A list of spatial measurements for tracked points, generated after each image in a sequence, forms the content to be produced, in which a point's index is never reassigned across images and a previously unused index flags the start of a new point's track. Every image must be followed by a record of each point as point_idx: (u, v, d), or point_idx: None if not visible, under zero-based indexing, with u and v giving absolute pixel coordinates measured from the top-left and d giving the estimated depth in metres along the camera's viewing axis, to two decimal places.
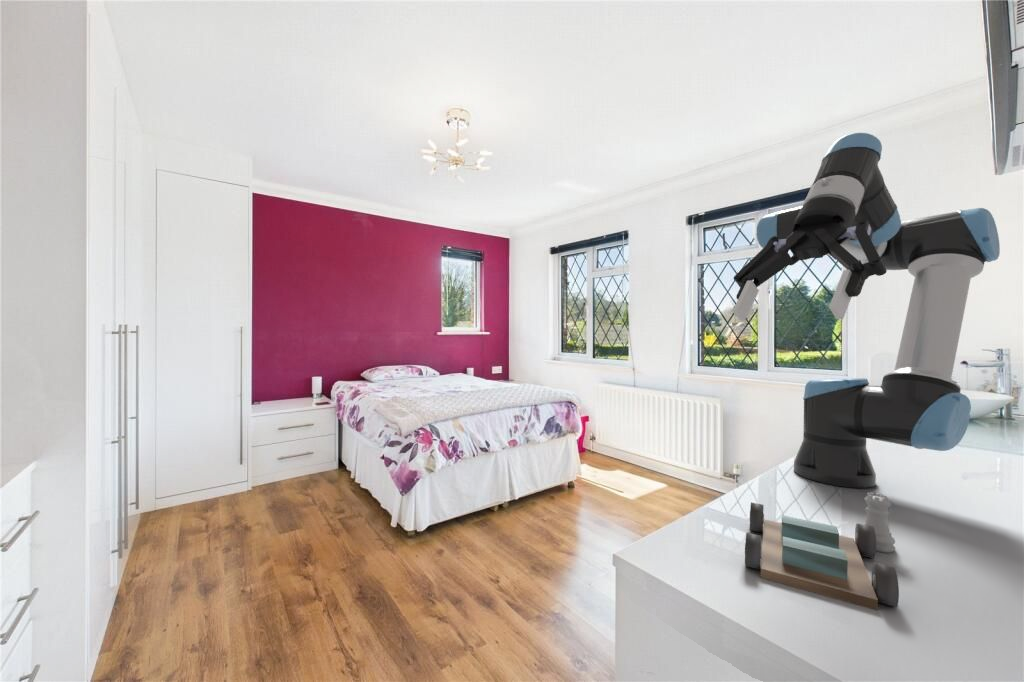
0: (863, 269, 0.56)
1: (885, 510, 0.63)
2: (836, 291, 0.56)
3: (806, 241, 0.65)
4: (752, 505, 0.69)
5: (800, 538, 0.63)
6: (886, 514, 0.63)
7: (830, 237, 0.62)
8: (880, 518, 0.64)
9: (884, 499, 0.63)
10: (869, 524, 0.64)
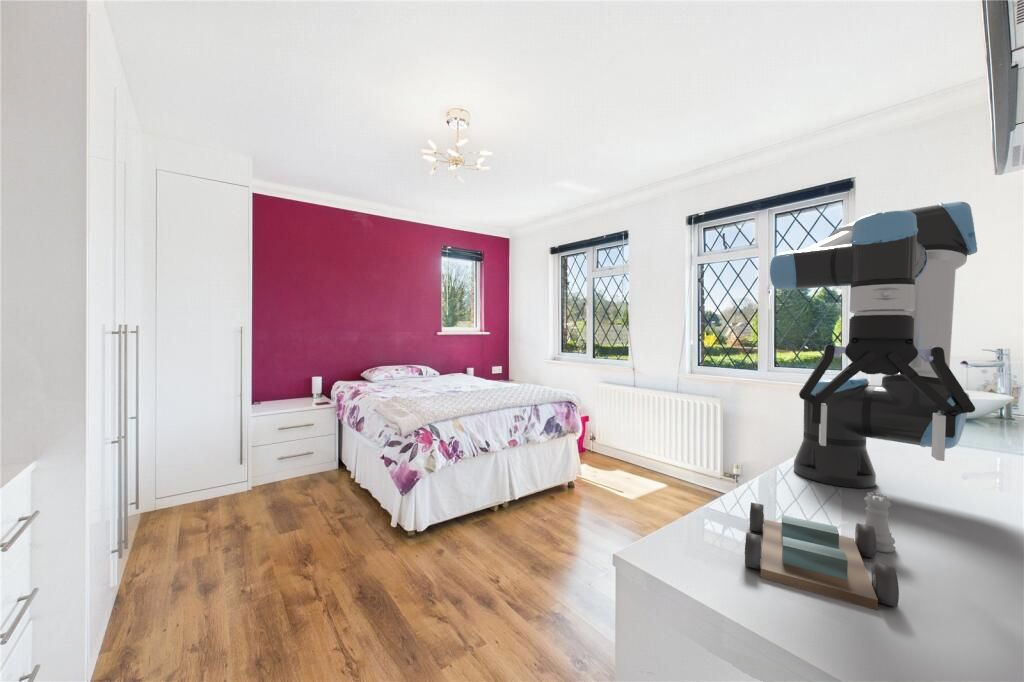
0: None
1: (885, 510, 0.63)
2: (939, 441, 0.60)
3: (876, 362, 0.64)
4: (752, 505, 0.69)
5: (800, 538, 0.63)
6: (886, 514, 0.63)
7: (909, 368, 0.61)
8: (880, 518, 0.64)
9: (884, 499, 0.63)
10: (869, 524, 0.64)
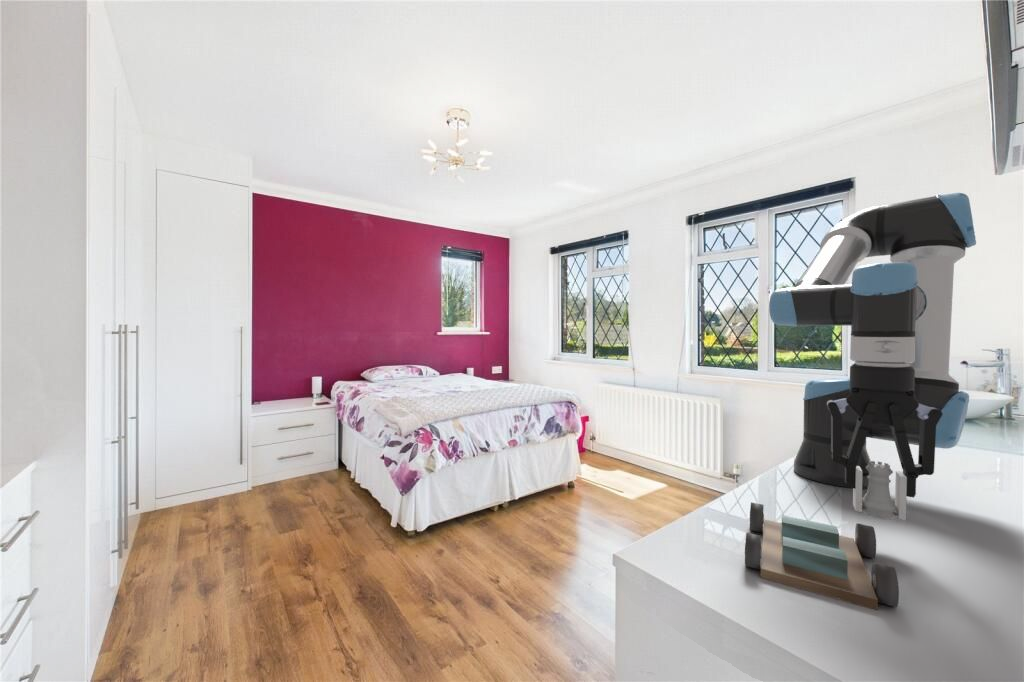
0: None
1: (886, 477, 0.64)
2: (900, 501, 0.63)
3: (877, 412, 0.64)
4: (752, 505, 0.69)
5: (800, 538, 0.63)
6: (888, 481, 0.64)
7: (902, 423, 0.62)
8: (882, 485, 0.64)
9: (885, 467, 0.64)
10: (870, 492, 0.65)
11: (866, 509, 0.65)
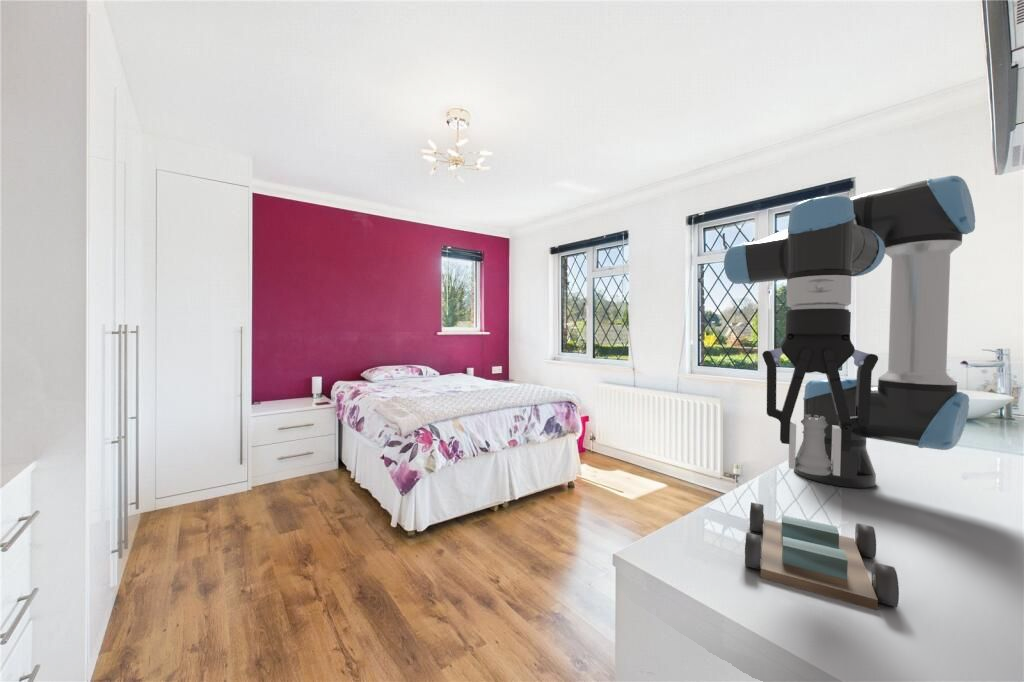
0: None
1: (821, 430, 0.59)
2: (835, 455, 0.58)
3: (812, 359, 0.59)
4: (752, 505, 0.69)
5: (800, 538, 0.63)
6: (822, 435, 0.59)
7: (836, 370, 0.57)
8: (816, 439, 0.59)
9: (820, 418, 0.59)
10: (805, 447, 0.60)
11: (800, 466, 0.60)
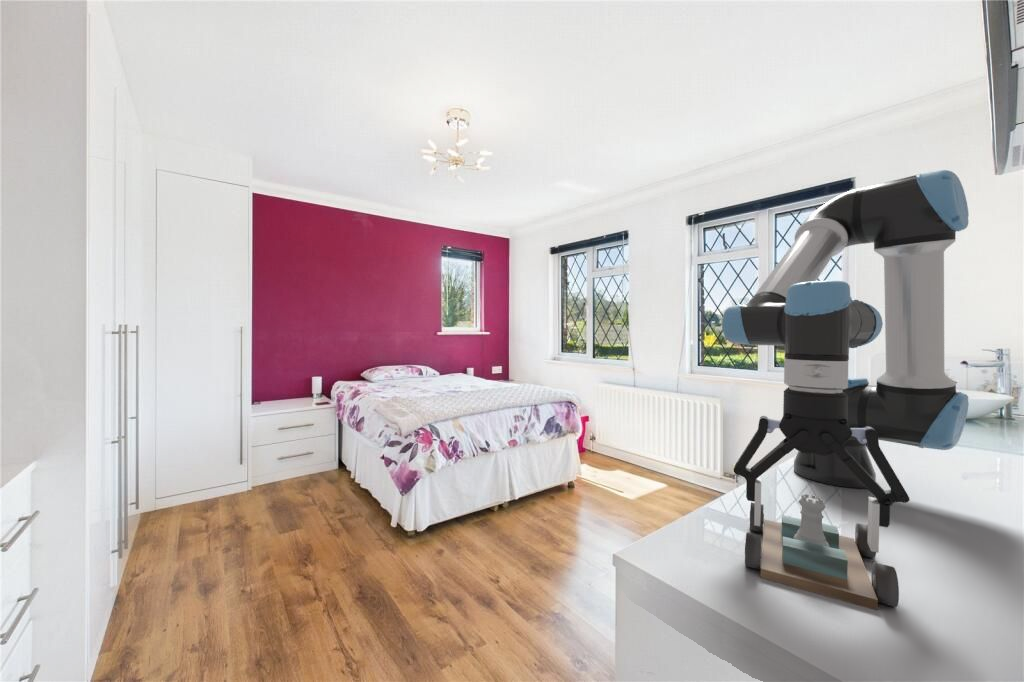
0: (889, 501, 0.55)
1: (819, 513, 0.59)
2: (873, 531, 0.56)
3: (810, 440, 0.59)
4: (752, 505, 0.69)
5: None
6: (820, 517, 0.59)
7: (842, 450, 0.57)
8: (813, 522, 0.59)
9: (818, 501, 0.59)
10: (802, 528, 0.60)
11: None
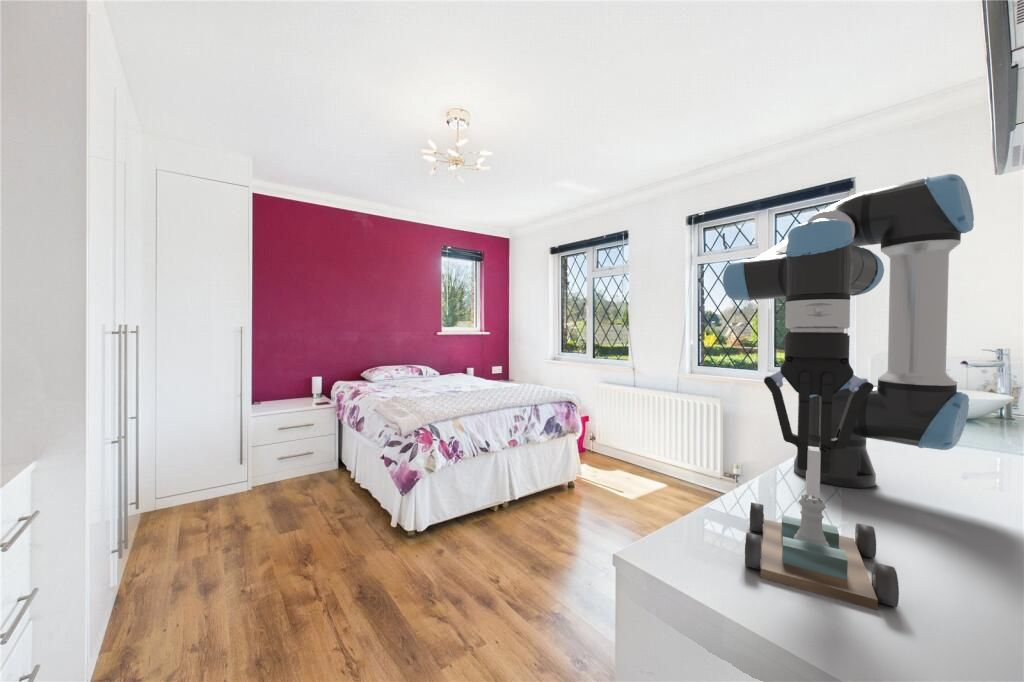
0: None
1: (819, 513, 0.59)
2: (814, 477, 0.59)
3: (811, 382, 0.59)
4: (752, 505, 0.69)
5: None
6: (820, 517, 0.59)
7: (830, 394, 0.58)
8: (814, 522, 0.59)
9: (818, 501, 0.59)
10: (802, 528, 0.60)
11: None
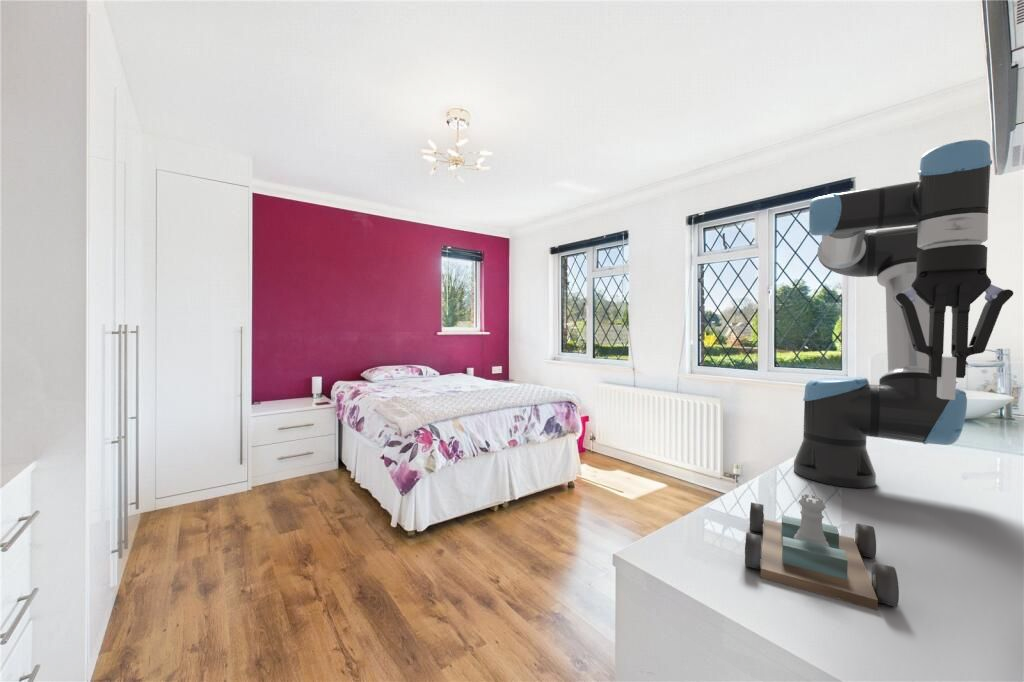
0: (962, 356, 0.63)
1: (819, 513, 0.59)
2: (950, 382, 0.64)
3: (946, 294, 0.64)
4: (752, 505, 0.69)
5: None
6: (820, 517, 0.59)
7: (968, 303, 0.62)
8: (814, 522, 0.59)
9: (818, 501, 0.59)
10: (802, 528, 0.60)
11: None
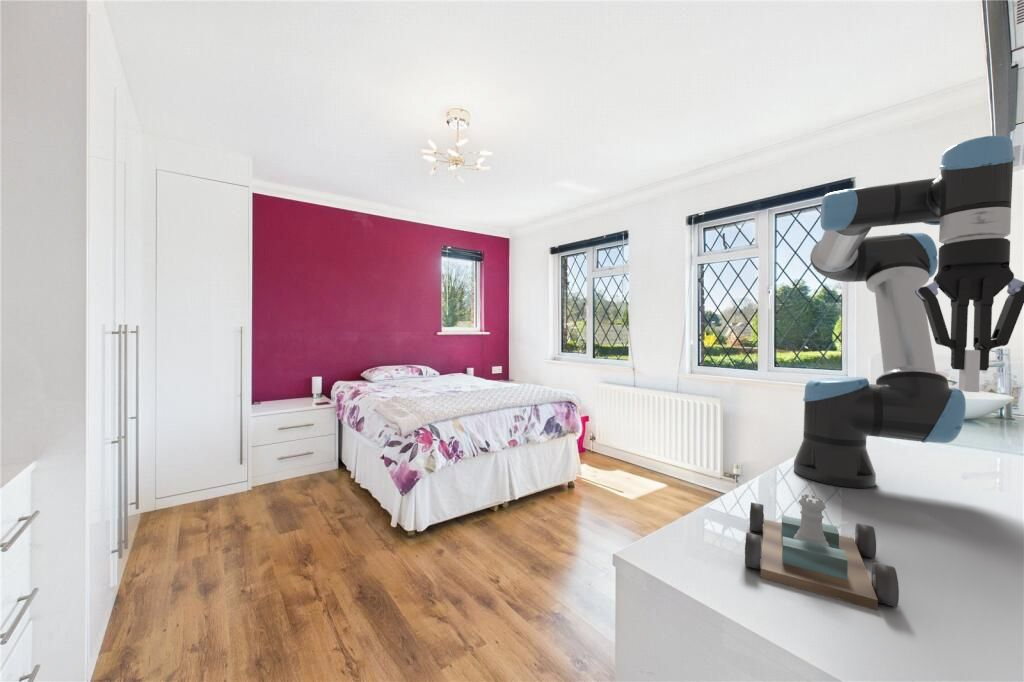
0: None
1: (819, 513, 0.59)
2: (973, 374, 0.64)
3: (970, 287, 0.65)
4: (752, 505, 0.69)
5: None
6: (820, 517, 0.59)
7: (991, 296, 0.63)
8: (814, 522, 0.59)
9: (818, 501, 0.59)
10: (802, 528, 0.60)
11: None
